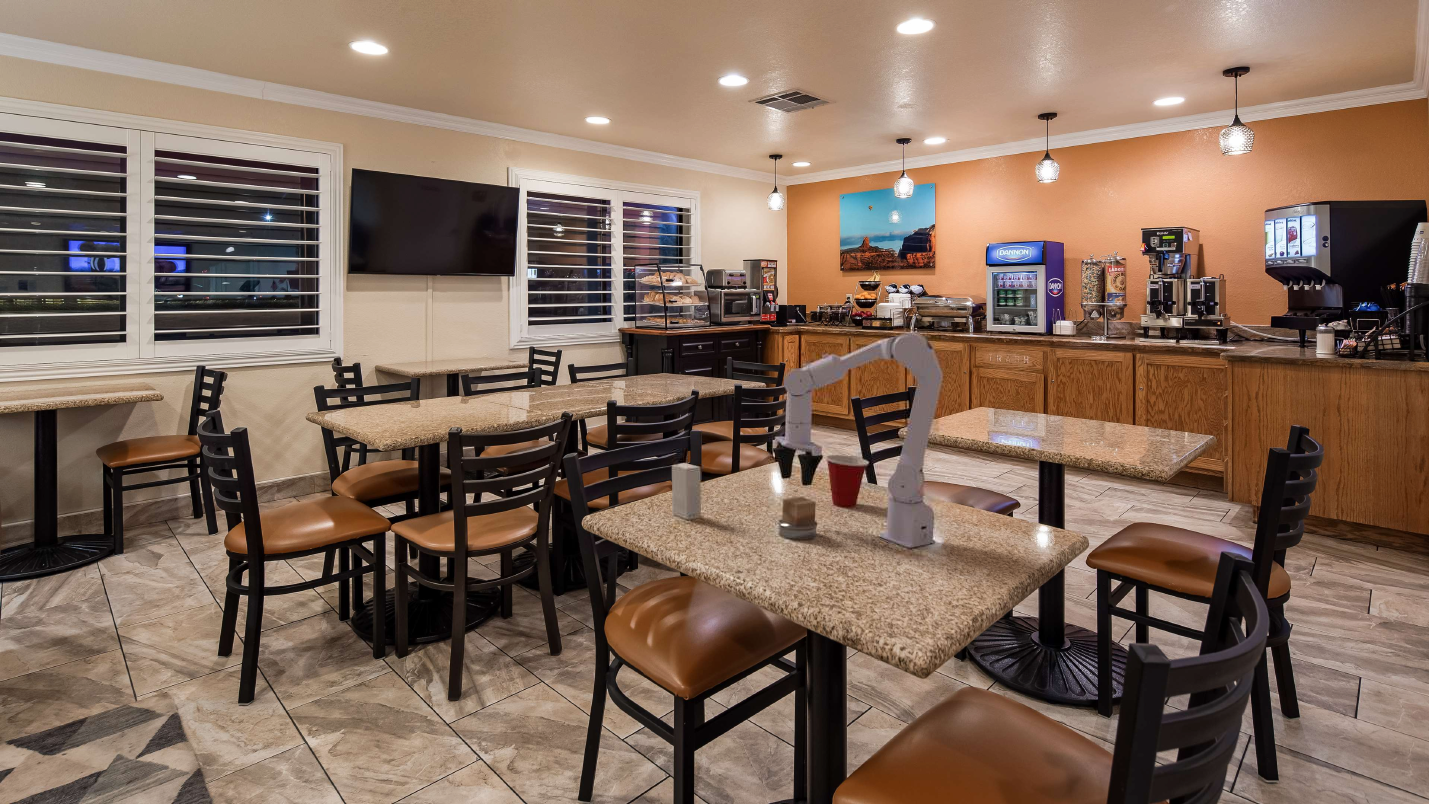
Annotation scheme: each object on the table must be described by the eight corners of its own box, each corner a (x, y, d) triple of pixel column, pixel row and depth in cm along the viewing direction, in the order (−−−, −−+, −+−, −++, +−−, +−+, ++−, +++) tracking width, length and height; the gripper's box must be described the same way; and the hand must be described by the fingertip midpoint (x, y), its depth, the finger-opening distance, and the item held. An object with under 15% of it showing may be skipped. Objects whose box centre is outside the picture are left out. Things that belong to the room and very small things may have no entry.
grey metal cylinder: (824, 538, 161) (825, 525, 160) (793, 544, 156) (794, 530, 156) (800, 528, 168) (801, 515, 167) (770, 533, 163) (770, 520, 163)
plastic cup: (870, 510, 183) (873, 462, 181) (826, 509, 183) (828, 461, 181) (863, 499, 194) (865, 454, 192) (821, 498, 194) (823, 453, 192)
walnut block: (814, 524, 161) (815, 501, 160) (796, 527, 158) (797, 504, 157) (800, 518, 165) (801, 496, 164) (782, 521, 162) (782, 499, 162)
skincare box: (701, 517, 174) (702, 466, 172) (686, 520, 171) (687, 468, 169) (685, 511, 179) (686, 462, 177) (670, 514, 176) (671, 464, 174)
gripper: (765, 418, 171) (763, 476, 173) (804, 427, 159) (802, 490, 160) (789, 417, 175) (787, 473, 176) (830, 425, 162) (827, 486, 164)
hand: (796, 481), depth 169 cm, fingers open, 7 cm apart
